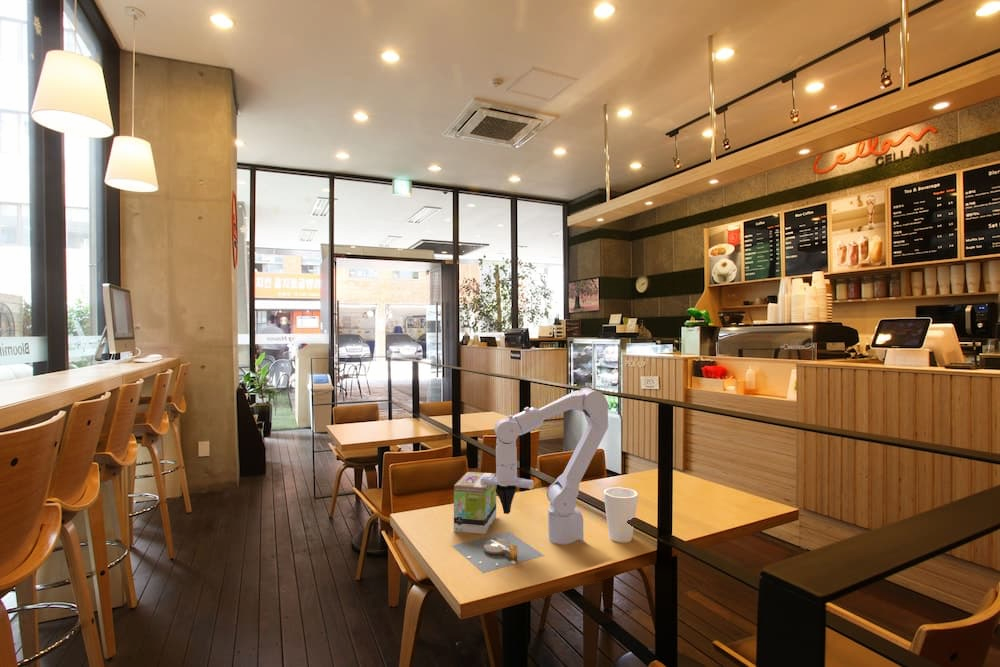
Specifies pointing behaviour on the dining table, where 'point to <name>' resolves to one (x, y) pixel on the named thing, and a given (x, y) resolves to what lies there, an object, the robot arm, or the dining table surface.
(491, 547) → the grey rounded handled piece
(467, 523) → the tea box
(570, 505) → the robot arm
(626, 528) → the foam cup
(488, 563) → the panel
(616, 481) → the dining table surface
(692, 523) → the dining table surface
